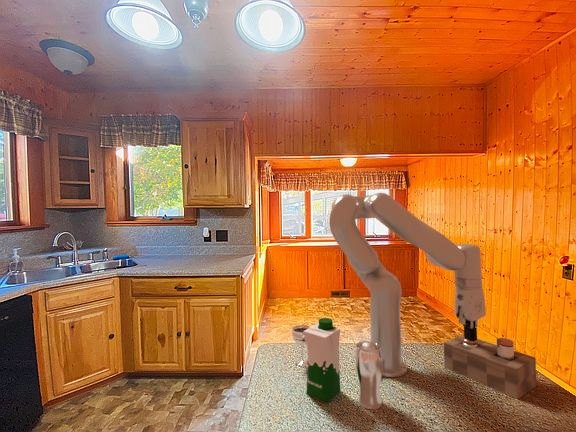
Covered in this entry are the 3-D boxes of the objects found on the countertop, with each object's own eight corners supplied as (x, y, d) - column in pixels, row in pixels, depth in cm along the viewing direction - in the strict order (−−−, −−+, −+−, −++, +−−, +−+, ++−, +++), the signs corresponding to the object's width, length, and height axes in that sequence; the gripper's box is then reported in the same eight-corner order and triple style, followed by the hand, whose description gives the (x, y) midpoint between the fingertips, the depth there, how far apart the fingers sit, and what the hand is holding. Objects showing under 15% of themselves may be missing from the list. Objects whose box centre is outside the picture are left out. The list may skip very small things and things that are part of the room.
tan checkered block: (517, 399, 77) (516, 369, 77) (444, 367, 94) (443, 342, 94) (536, 385, 83) (535, 357, 83) (464, 357, 100) (464, 334, 100)
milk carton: (344, 391, 82) (343, 321, 83) (327, 407, 76) (325, 331, 76) (319, 380, 88) (317, 315, 88) (301, 394, 81) (299, 323, 82)
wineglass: (293, 358, 102) (292, 325, 102) (312, 359, 102) (311, 325, 102) (292, 368, 95) (291, 332, 96) (312, 369, 95) (311, 332, 95)
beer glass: (383, 396, 79) (382, 342, 79) (383, 413, 73) (381, 353, 73) (357, 392, 82) (356, 339, 82) (355, 407, 75) (353, 350, 75)
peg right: (510, 371, 82) (509, 344, 82) (494, 365, 85) (493, 339, 85) (517, 367, 84) (516, 341, 84) (501, 361, 87) (500, 336, 87)
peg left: (473, 366, 90) (472, 343, 90) (460, 361, 94) (459, 338, 94) (480, 363, 92) (479, 340, 92) (467, 358, 96) (466, 335, 96)
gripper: (467, 288, 86) (470, 349, 86) (492, 281, 94) (495, 337, 93) (443, 283, 93) (445, 340, 92) (468, 277, 100) (471, 330, 100)
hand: (470, 339), depth 93 cm, fingers closed
